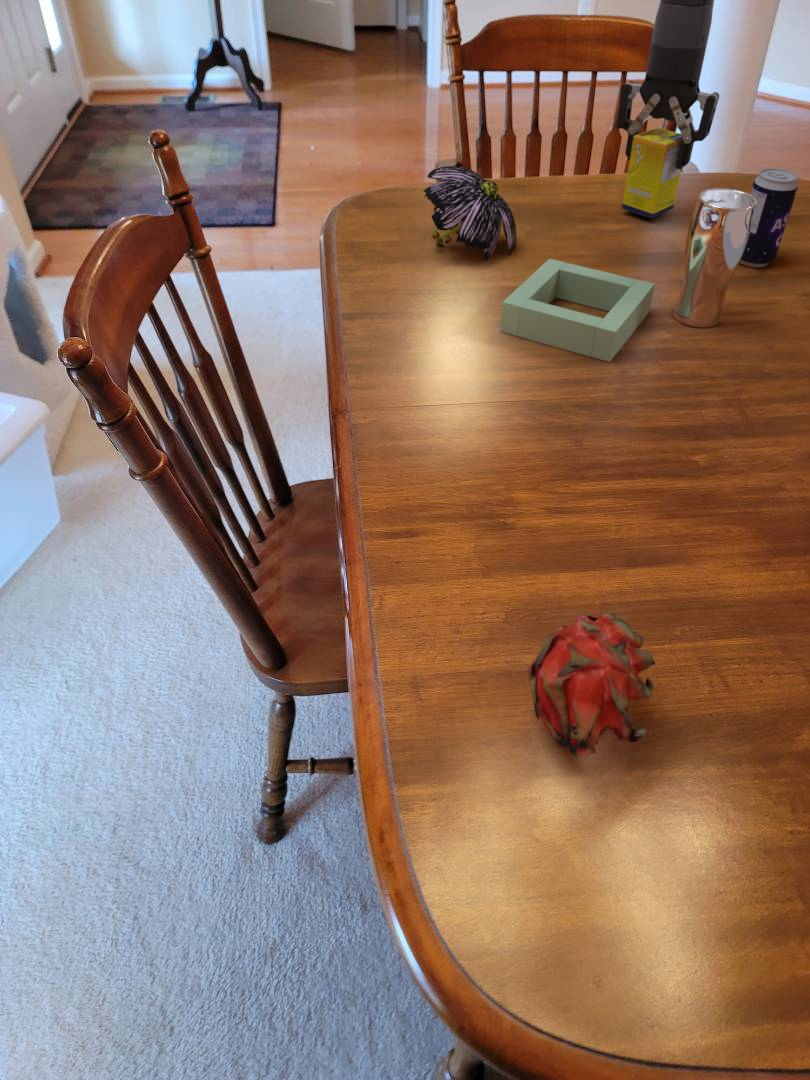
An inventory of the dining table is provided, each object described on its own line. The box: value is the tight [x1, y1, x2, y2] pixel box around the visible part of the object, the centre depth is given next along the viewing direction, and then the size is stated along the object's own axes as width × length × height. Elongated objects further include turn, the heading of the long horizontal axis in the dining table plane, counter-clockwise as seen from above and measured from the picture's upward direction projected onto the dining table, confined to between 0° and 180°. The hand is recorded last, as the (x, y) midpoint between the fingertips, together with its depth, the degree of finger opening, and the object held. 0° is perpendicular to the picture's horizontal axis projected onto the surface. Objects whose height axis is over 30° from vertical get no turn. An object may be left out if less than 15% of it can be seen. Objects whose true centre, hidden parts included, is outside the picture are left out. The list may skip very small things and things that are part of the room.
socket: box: [499, 258, 656, 363], centre depth 104 cm, size 14×14×4 cm
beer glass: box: [672, 187, 757, 329], centre depth 102 cm, size 7×7×15 cm
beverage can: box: [739, 167, 799, 268], centre depth 115 cm, size 6×6×12 cm
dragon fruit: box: [527, 612, 656, 758], centre depth 59 cm, size 8×8×12 cm
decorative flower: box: [422, 165, 517, 262], centre depth 119 cm, size 15×12×15 cm
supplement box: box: [621, 127, 683, 219], centre depth 128 cm, size 6×6×11 cm
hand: (655, 163), depth 127 cm, fingers closed on supplement box, 7 cm apart
